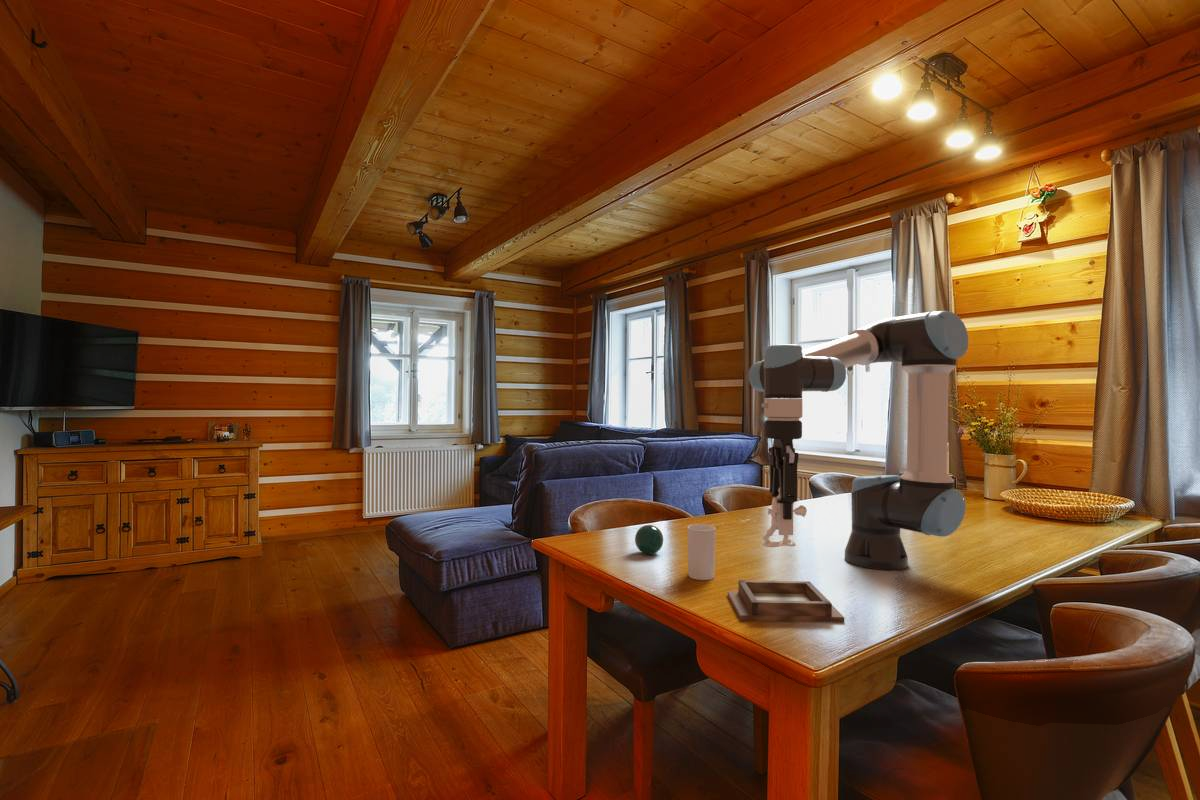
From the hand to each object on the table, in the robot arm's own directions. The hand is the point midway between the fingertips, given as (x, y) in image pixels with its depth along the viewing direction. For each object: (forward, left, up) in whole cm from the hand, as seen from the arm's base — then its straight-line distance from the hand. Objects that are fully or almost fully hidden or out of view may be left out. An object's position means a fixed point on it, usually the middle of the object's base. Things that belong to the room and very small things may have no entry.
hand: (782, 531), depth 118 cm
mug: (+14, -22, -16) cm, 31 cm away
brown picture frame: (0, 0, -16) cm, 16 cm away
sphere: (+26, -40, -16) cm, 50 cm away
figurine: (0, 0, -3) cm, 3 cm away
